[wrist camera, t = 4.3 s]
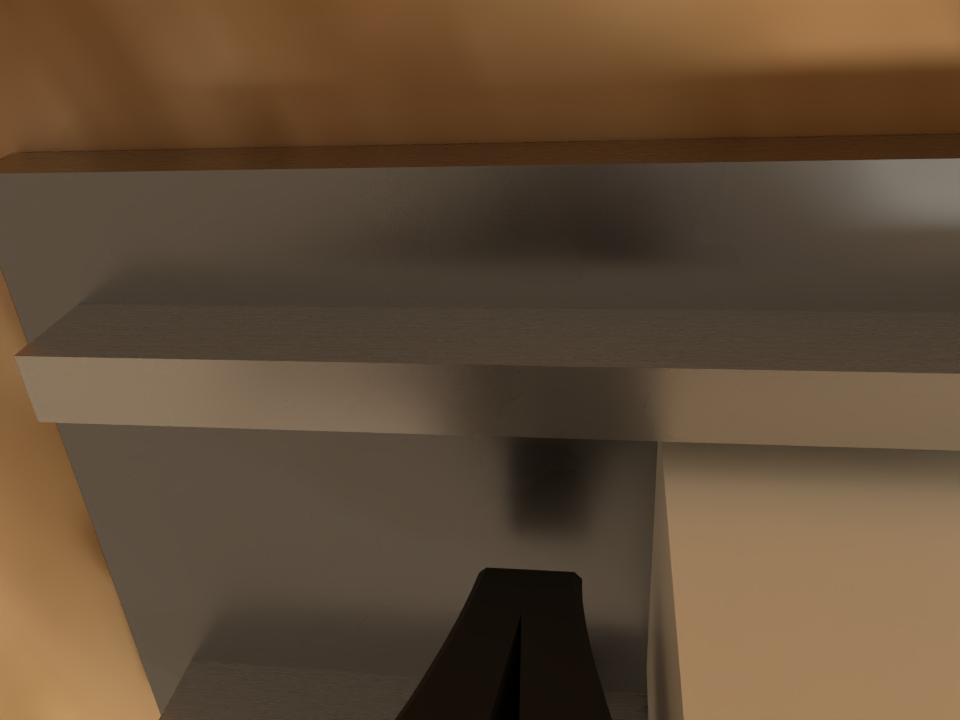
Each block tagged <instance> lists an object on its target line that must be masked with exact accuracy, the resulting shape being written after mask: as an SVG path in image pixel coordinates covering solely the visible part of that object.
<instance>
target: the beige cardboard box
mask: <svg viewBox="0 0 960 720" xmlns="http://www.w3.org/2000/svg"><path fill="white" fill-rule="evenodd" d="M646 670H647V695H648V720H960V451H952V450H920V449H887V448H855V447H823V446H790V445H758V444H726V443H693V442H661V441H658V447H657V467H656V487H655V507H654V527H653V547H652V568H651V588H650V608H649V628H648V648H647V668H646Z"/></svg>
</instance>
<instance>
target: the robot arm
mask: <svg viewBox="0 0 960 720" xmlns="http://www.w3.org/2000/svg"><path fill="white" fill-rule="evenodd" d="M395 720H612V717H611V715H610V711H609V708H608V705H607V702H606V698H605V695H604V692H603V689H602V685H601V682H600V679H599V676H598V672H597V669H596V665H595V661H594V657H593V653H592V649H591V645H590V640H589V636H588V631H587V626H586V620H585V614H584V607H583V596H582V578H581V577H579V576H578V575H577V574H576V573H575V572H567V571H548V570H528V569H509V568H489V567H486V568H485V569H484V570H482V571H481V572H480V573H479V574H478V576H477V578H476V581H475V583H474V586H473V588H472V590H471V592H470V594H469V596H468V598H467V600H466V603H465V605H464V607H463V609H462V611H461V612H460V614H459V616H458V618H457V620H456V622H455V624H454V626H453V627H452V629H451V631H450V633H449V635H448V636H447V638H446V640H445V642H444V644H443V645H442V647H441V649H440V650H439V652H438V653H437V655H436V657H435V658H434V660H433V662H432V663H431V665H430V667H429V668H428V670H427V671H426V673H425V675H424V676H423V678H422V680H421V681H420V683H419V685H418V686H417V688H416V689H415V691H414V692H413V694H412V695H411V697H410V698H409V700H408V701H407V703H406V704H405V706H404V707H403V708H402V710H401V711H400V713H399V714H398V716H397V717H396V718H395Z"/></svg>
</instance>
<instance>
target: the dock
mask: <svg viewBox="0 0 960 720" xmlns="http://www.w3.org/2000/svg"><path fill="white" fill-rule="evenodd" d="M0 267H1V270H2V273H3V275H4V278H5V281H6V284H7V287H8V289H9V292H10V295H11V298H12V301H13V303H14V306H15V309H16V312H17V314H18V317H19V320H20V323H21V326H22V328H23V331H24V334H25V337H26V340H27V342H28V345H27V346H26V347H24V348H23V349H22V350H21V351H19V352H18V353H17V354H16V355H14V358H15V361H16V364H17V366H18V369H19V372H20V374H21V377H22V380H23V382H24V385H25V388H26V391H27V393H28V396H29V399H30V401H31V404H32V407H33V409H34V412H35V415H36V418H37V420H38V422H47V423H57V426H58V429H59V432H60V434H61V437H62V440H63V443H64V446H65V448H66V451H67V454H68V457H69V460H70V462H71V465H72V468H73V471H74V474H75V476H76V479H77V482H78V485H79V487H80V490H81V493H82V496H83V499H84V501H85V504H86V507H87V510H88V513H89V515H90V518H91V521H92V524H93V527H94V529H95V532H96V535H97V538H98V541H99V543H100V546H101V549H102V552H103V554H104V557H105V560H106V563H107V566H108V568H109V571H110V574H111V577H112V580H113V582H114V585H115V588H116V591H117V594H118V596H119V599H120V602H121V605H122V607H123V610H124V613H125V616H126V619H127V621H128V624H129V627H130V630H131V633H132V635H133V638H134V641H135V644H136V647H137V649H138V652H139V655H140V658H141V661H142V663H143V666H144V669H145V672H146V674H147V677H148V680H149V683H150V686H151V688H152V691H153V694H154V697H155V700H156V702H157V705H158V708H159V711H160V714H161V717H160V719H159V720H395V718H396V717H397V716H398V714H399V713H400V711H401V710H402V708H403V707H404V706H405V704H406V703H407V701H408V700H409V698H410V697H411V695H412V694H413V692H414V691H415V689H416V688H417V686H418V685H419V683H420V681H421V680H422V678H423V676H424V675H425V673H426V671H427V670H428V668H429V667H430V665H431V663H432V662H433V660H434V658H435V657H436V655H437V653H438V652H439V650H440V649H441V647H442V645H443V644H444V642H445V640H446V638H447V636H448V635H449V633H450V631H451V629H452V627H453V626H454V624H455V622H456V620H457V618H458V616H459V614H460V612H461V611H462V609H463V607H464V605H465V603H466V600H467V598H468V596H469V594H470V592H471V590H472V588H473V586H474V583H475V581H476V578H477V576H478V574H479V573H480V572H481V571H482V570H484V569H485V568H486V567H489V568H509V569H528V570H548V571H567V572H575V573H576V574H577V575H578V576H579V577H581V578H582V596H583V607H584V614H585V620H586V626H587V631H588V636H589V640H590V645H591V649H592V653H593V657H594V661H595V665H596V669H597V672H598V676H599V679H600V682H601V685H602V689H603V692H604V695H605V698H606V702H607V705H608V708H609V711H610V715H611V717H612V720H648V695H647V670H646V668H647V648H648V628H649V608H650V588H651V568H652V547H653V527H654V507H655V487H656V467H657V447H658V441H661V442H693V443H726V444H758V445H790V446H823V447H855V448H887V449H920V450H952V451H960V134H941V135H890V136H840V137H789V138H739V139H688V140H637V141H587V142H536V143H485V144H435V145H384V146H333V147H283V148H232V149H182V150H131V151H80V152H30V153H12V154H9V155H7V156H5V157H3V158H1V159H0Z"/></svg>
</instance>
